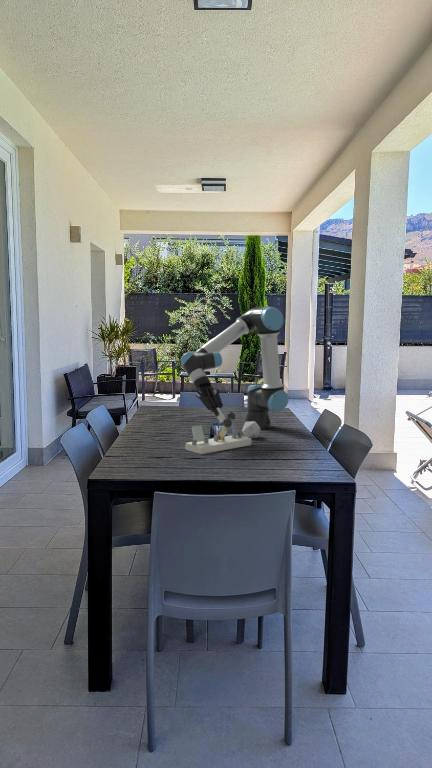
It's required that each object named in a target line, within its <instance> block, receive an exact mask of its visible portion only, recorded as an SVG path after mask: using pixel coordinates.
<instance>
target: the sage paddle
mask: <svg viewBox="0 0 432 768" xmlns="http://www.w3.org/2000/svg"><path fill="white" fill-rule="evenodd" d="M190 429H191V430H192V431H191V433H192V437H193V439H196V440H197V442H201V441H205V438H204V437H205V434H204V431H203V425H196V426H195V425H193V426H191V428H190Z"/></svg>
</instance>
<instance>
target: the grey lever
mask: <svg viewBox="0 0 432 768" xmlns="http://www.w3.org/2000/svg"><path fill="white" fill-rule="evenodd" d="M226 419H230V420H231V421H232V425H231V427H230V428H231V431H232V433H236V436H238V435H239V433H238V432H239V429H238V427H237V426H238V425H237V422H236V413H235V412H233V411H229V412H228V413H227V414H226Z"/></svg>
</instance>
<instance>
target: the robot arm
mask: <svg viewBox="0 0 432 768" xmlns="http://www.w3.org/2000/svg"><path fill="white" fill-rule="evenodd" d="M283 323H284V316H283V313H282V311H281V310H279V309H278V308H276V307H273V306H261V307H259V306H258V307H257V306H256V307H253V308H250V309H249V310H247V311H246V312H244V313H242V315H241V316H238V317H237V318H236V320H235V322H234V323H231V325H229V326H228V327H226V329H224V330H223V331H222V332H220V333H219V334H217V335H216V336H215V337H213V338H212V339H210V340H209V341H208V342H206V343H205V344H204V345H203V346H201V347H200V348H198V349H197V350H195V351H193V350H192V351H187V352H185V353H184V354H182V356H181V357H180V362H181V366H182V367H183V369H184V370H185V372H186V374H187V376H188V377H189V380H190V381H191V383H192V384H193V386H194V388H195V390H196V391H197V392H196V393H195V397H197V398H198V399H199V400H200V401H201V403H202V404H203V405H204V406H205V408H206V409H207V410H208V411H210V412H211V413H214V416H215V417H217V419H218V421H219V423H221V424H223V421H224V420H225V419H227V417H225V414H224V411H223V409H222V407H224V403H223V401H222V398H221V395H220V390H219V389H214V387H212V384H211V381H210V379H209V377H208V375H207V374H206V372H205V371H207V370H211V369H216V368H218V367H221V366H222V365H223V357H222V355H221V352H222V351H223V350H225V349H226V348H227V347H229V345H231V344H232V343H234V342H235V341H237V340H238V339H239V338H241V337H242V336H243V335H248V334H250V332H254V331H256V334H257V336H258V337H259V338H260V339H259V340H260V351H261V366H262V379H263V380H262V381H263V383H262V384H251V385H248V387H247V391H246V393H247V399H246V401H247V404H246V405H247V406H246V414H245V418H244V420H243V425H244V424H245V422H256V423H257V424H258V426H259V427H260V428H261V429H260V430H266V429H271V428H272V420H271V416H270V413H269V412H272V413H279V412H282V411H284V410H285V409H286V407H287V405H288V404H289V401H290V400H289V398H290V397H289V394H288V393H287V391H285V389H284V384H283V383H282V381H281V376H280V375H281V374H280V362H279V346H278V335H279V334H280V333H281V330H280V329H281V328H282V326H283V325H284V324H283Z"/></svg>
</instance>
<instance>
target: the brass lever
mask: <svg viewBox="0 0 432 768" xmlns="http://www.w3.org/2000/svg"><path fill="white" fill-rule="evenodd" d="M231 425H232V421H231V420H230V419H227V418H226V419H225V420H224V421H223V423H222V427H221V430H220V431H219V433H218V435H217V436H218V440H223V438H224V436H226V434H227V431H228V430H229V428H231Z"/></svg>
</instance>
